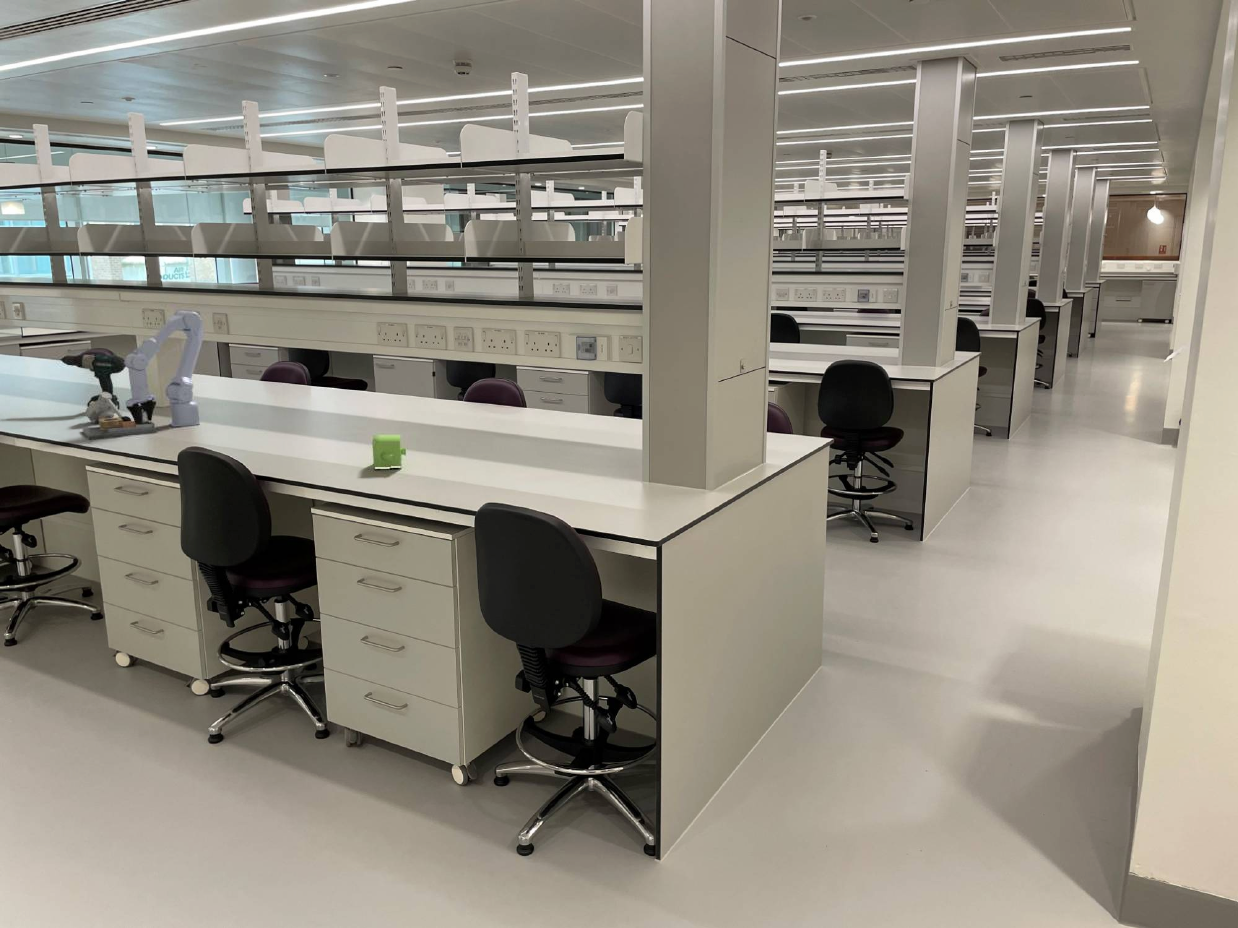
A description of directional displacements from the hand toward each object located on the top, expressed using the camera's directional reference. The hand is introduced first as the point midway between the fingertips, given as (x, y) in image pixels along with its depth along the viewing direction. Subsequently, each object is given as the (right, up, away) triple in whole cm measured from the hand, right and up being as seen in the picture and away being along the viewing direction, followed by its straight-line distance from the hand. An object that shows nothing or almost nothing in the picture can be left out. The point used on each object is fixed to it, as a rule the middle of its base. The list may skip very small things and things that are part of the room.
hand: (143, 422), depth 329 cm
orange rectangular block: (-4, -2, -2) cm, 5 cm away
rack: (-12, -2, -1) cm, 12 cm away
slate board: (-7, -4, -3) cm, 9 cm away
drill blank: (0, -2, +1) cm, 2 cm away
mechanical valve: (-18, 0, +12) cm, 22 cm away
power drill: (-37, +5, +34) cm, 51 cm away
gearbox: (+106, -17, -48) cm, 117 cm away
